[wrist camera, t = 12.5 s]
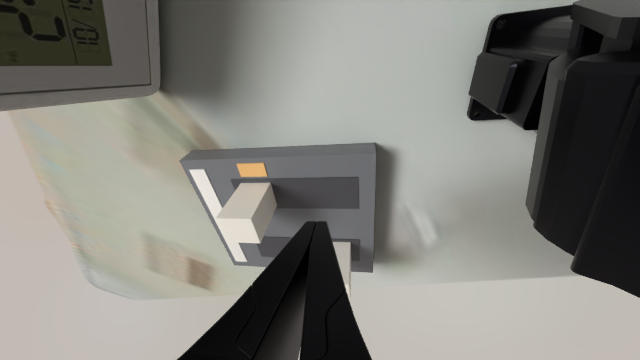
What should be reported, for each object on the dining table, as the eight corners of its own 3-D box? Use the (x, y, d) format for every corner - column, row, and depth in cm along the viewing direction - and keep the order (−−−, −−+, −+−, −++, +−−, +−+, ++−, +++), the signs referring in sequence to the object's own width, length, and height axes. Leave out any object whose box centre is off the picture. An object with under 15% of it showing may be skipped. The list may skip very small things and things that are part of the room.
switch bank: (374, 142, 20) (376, 154, 18) (371, 258, 29) (372, 273, 27) (191, 150, 23) (178, 161, 21) (240, 252, 32) (234, 265, 30)
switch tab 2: (350, 242, 24) (349, 284, 20) (351, 258, 26) (350, 300, 22) (322, 241, 25) (316, 282, 21) (325, 257, 26) (319, 298, 23)
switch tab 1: (270, 182, 21) (250, 218, 17) (277, 205, 23) (260, 243, 19) (240, 183, 22) (215, 218, 18) (249, 205, 23) (227, 242, 19)
